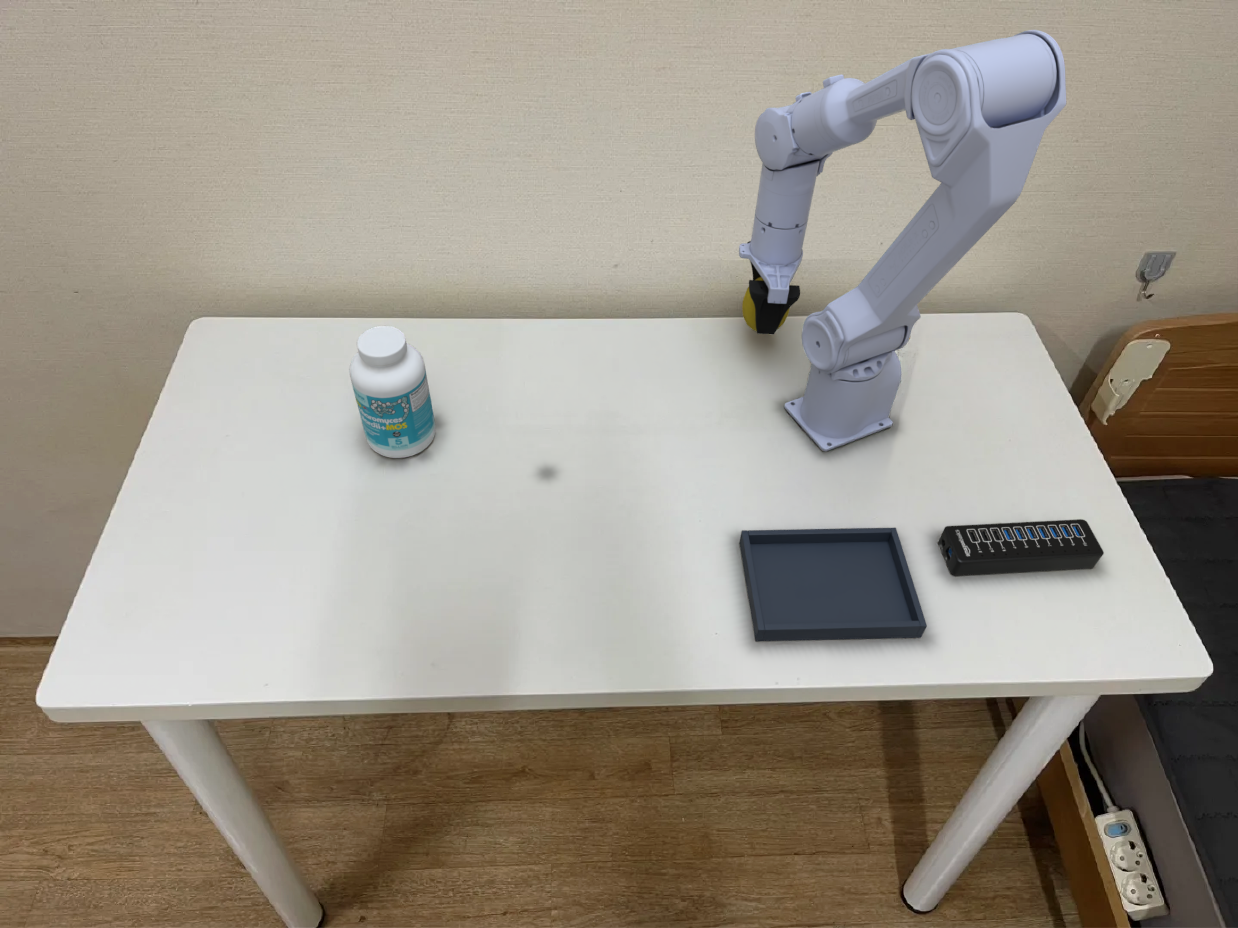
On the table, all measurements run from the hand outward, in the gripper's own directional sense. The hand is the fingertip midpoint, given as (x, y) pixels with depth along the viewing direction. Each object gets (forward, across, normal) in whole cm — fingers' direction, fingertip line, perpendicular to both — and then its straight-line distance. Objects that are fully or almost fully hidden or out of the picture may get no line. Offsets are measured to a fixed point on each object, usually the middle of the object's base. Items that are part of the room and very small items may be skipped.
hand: (764, 315), depth 106 cm
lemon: (+3, 0, 0) cm, 3 cm away
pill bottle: (+4, +19, -40) cm, 44 cm away
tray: (+4, +36, +5) cm, 36 cm away
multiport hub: (+4, +30, +24) cm, 39 cm away
